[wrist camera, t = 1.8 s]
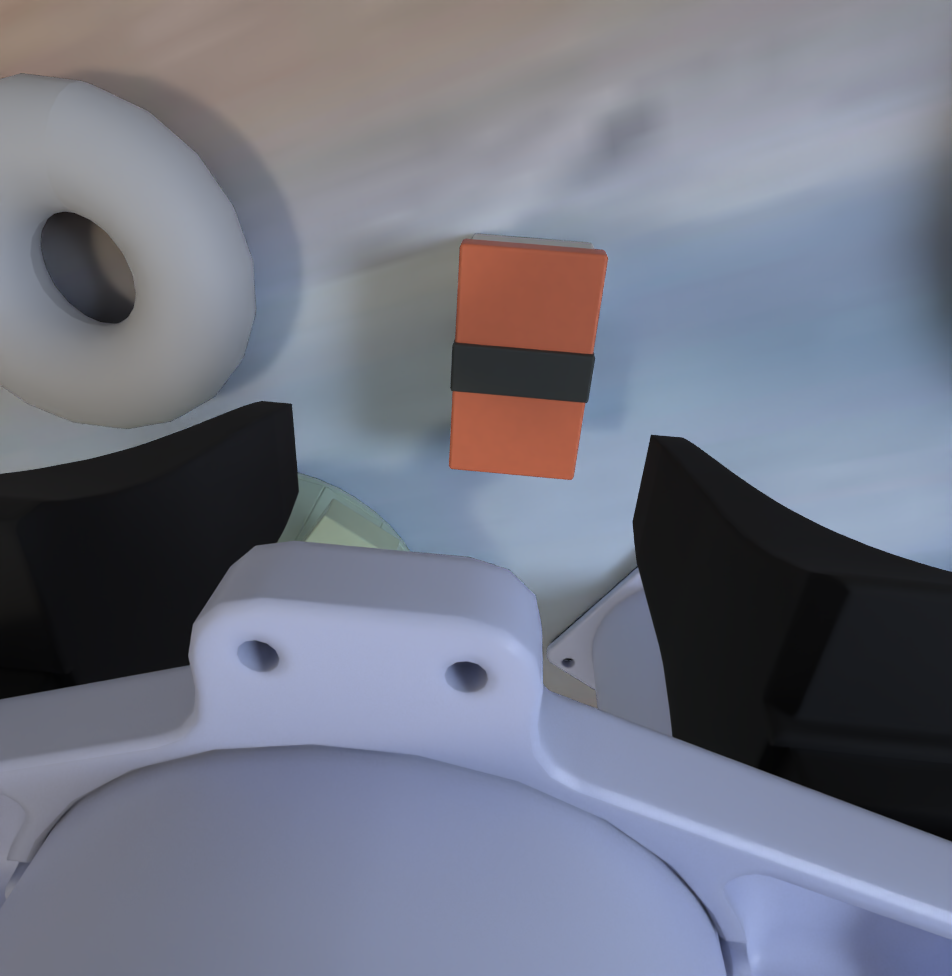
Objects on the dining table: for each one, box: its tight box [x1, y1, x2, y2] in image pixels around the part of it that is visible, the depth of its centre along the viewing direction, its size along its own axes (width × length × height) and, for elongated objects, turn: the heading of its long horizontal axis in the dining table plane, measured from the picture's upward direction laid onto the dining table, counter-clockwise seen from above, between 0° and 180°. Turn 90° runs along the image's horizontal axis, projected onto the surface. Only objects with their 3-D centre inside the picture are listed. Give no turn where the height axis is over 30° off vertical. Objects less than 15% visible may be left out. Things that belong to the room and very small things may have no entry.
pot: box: [277, 473, 409, 551], centre depth 25 cm, size 13×18×6 cm
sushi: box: [449, 234, 608, 480], centre depth 20 cm, size 7×4×4 cm, turn 176°
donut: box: [0, 73, 256, 429], centre depth 20 cm, size 10×4×10 cm
